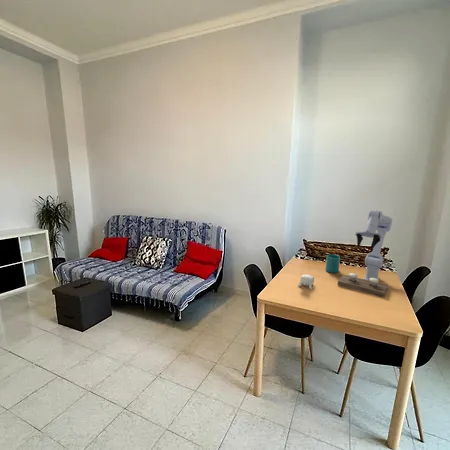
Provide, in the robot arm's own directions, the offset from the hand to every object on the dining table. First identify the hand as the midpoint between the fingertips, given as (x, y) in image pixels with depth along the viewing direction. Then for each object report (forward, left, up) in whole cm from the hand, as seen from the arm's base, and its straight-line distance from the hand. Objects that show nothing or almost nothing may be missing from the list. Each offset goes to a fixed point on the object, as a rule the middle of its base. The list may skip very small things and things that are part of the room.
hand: (364, 246), depth 156 cm
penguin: (+12, -28, -29) cm, 43 cm away
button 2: (-9, +6, -26) cm, 28 cm away
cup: (-27, -24, -29) cm, 47 cm away
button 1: (-9, -6, -26) cm, 29 cm away
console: (-9, 0, -29) cm, 30 cm away
